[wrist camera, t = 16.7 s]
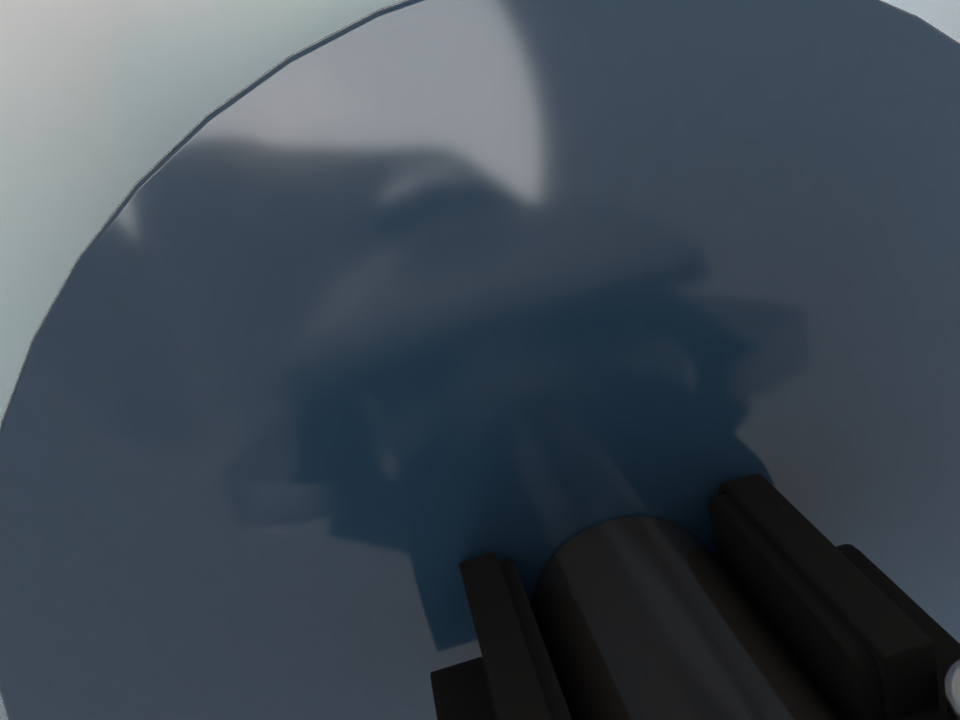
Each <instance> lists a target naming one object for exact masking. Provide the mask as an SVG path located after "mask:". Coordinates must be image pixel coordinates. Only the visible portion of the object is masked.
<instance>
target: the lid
mask: <svg viewBox="0 0 960 720" xmlns="http://www.w3.org/2000/svg"><path fill="white" fill-rule="evenodd" d="M755 473H759V474H761V475H762V476H763V477H764V478H765V479H766V480H767V481H768V482H769V483H770V484H771V485H772V486H774V487H775V488H776V489H777V490H778V491H779V492H780V493H781V494H782V495H783V496H784V497H785V498H786V499H787V500H788V501H789V502H790V503H791V504H792V505H793V506H794V507H795V508H796V509H797V510H798V511H799V512H800V513H801V514H802V515H803V516H805V517H806V518H807V519H808V520H809V521H810V522H811V523H812V524H813V525H814V526H815V527H816V528H817V529H818V530H819V531H820V532H821V533H822V534H823V535H824V536H825V537H826V538H827V539H828V540H829V541H830V542H831V543H832V544H833V545H834V546H835V547H836V546H839V545H843V544H850V545H853V546H854V547H856V548H857V549H858V550H860V551H861V552H862V553H863V554H864V555H865V556H866V557H867V558H868V559H869V560H870V561H871V562H873V563H874V564H875V565H876V566H877V567H878V568H879V569H880V570H881V571H882V572H883V573H884V574H885V575H886V576H888V577H889V578H890V579H891V580H892V581H893V582H894V583H895V584H896V585H897V586H898V587H899V588H900V589H902V590H903V591H904V592H905V593H906V594H907V595H908V596H909V597H910V598H911V599H912V600H913V601H914V602H915V603H917V604H918V605H919V606H920V607H921V608H922V609H923V610H924V611H925V612H926V613H927V614H928V615H929V616H931V617H932V618H933V619H934V620H935V621H936V622H937V623H938V624H939V625H940V626H941V627H942V628H943V629H944V630H946V631H947V632H948V633H949V634H950V635H951V636H952V637H953V638H954V639H955V640H956V641H957V642H958V643H960V43H958V42H957V41H955V40H954V39H952V38H950V37H949V36H947V35H946V34H944V33H943V32H941V31H939V30H938V29H936V28H935V27H933V26H932V25H930V24H929V23H927V22H925V21H924V20H922V19H921V18H919V17H918V16H916V15H913V14H911V13H909V12H907V11H904V10H902V9H900V8H897V7H895V6H893V5H890V4H888V3H886V2H883V1H881V0H404V1H401V2H398V3H396V4H393V5H390V6H387V7H384V8H382V9H379V10H376V11H374V12H372V13H370V14H369V15H367V16H365V17H363V18H361V19H359V20H357V21H355V22H353V23H351V24H349V25H348V26H346V27H344V28H342V29H340V30H338V31H336V32H334V33H332V34H330V35H329V36H327V37H325V38H323V39H321V40H319V41H317V42H315V43H313V44H311V45H309V46H308V47H306V48H304V49H302V50H300V51H298V52H296V53H294V54H292V55H290V56H288V57H287V58H285V59H284V60H283V61H281V62H280V63H278V64H277V65H276V66H274V67H273V68H272V69H270V70H269V71H267V72H266V73H265V74H263V75H262V76H260V77H259V78H258V79H256V80H255V81H253V82H252V83H251V84H249V85H248V86H247V87H245V88H244V89H242V90H241V91H240V92H238V93H237V94H235V95H234V96H233V97H231V98H230V99H228V100H227V101H226V102H224V103H223V104H222V105H220V106H219V107H217V108H216V109H215V110H213V111H212V112H210V113H209V114H208V115H206V116H205V117H204V118H203V119H202V120H201V121H200V122H199V123H198V124H197V125H196V126H195V127H194V128H193V129H192V130H191V131H190V132H189V133H188V134H186V135H185V136H184V137H183V138H182V139H181V140H180V141H179V142H178V143H177V144H176V145H175V146H174V147H173V148H172V149H171V150H170V151H169V152H168V153H167V154H166V155H165V156H164V157H163V158H162V159H160V160H159V161H158V162H157V163H156V164H155V165H154V166H153V167H152V168H151V169H150V170H149V171H148V172H147V173H146V174H145V175H144V176H143V177H142V178H141V179H140V180H139V181H138V182H137V183H136V184H135V185H134V186H133V187H132V189H131V190H130V191H129V193H128V194H127V195H126V196H125V198H124V199H123V200H122V202H121V203H120V204H119V205H118V207H117V208H116V209H115V211H114V212H113V213H112V214H111V216H110V217H109V218H108V220H107V221H106V222H105V223H104V225H103V226H102V227H101V229H100V230H99V231H98V232H97V234H96V235H95V236H94V238H93V239H92V240H91V241H90V243H89V244H88V245H87V247H86V248H85V249H84V251H83V252H82V253H81V254H80V256H79V257H78V258H77V260H76V262H75V263H74V265H73V267H72V269H71V270H70V272H69V274H68V276H67V278H66V279H65V281H64V283H63V285H62V286H61V288H60V290H59V292H58V294H57V295H56V297H55V299H54V301H53V302H52V304H51V306H50V308H49V310H48V311H47V313H46V315H45V317H44V318H43V320H42V322H41V324H40V326H39V327H38V329H37V331H36V333H35V334H34V336H33V338H32V340H31V343H30V346H29V348H28V351H27V354H26V356H25V359H24V362H23V364H22V367H21V370H20V372H19V375H18V378H17V380H16V383H15V386H14V388H13V391H12V393H11V396H10V399H9V401H8V404H7V407H6V409H5V412H4V415H3V417H2V420H1V424H0V695H1V698H2V702H3V705H4V709H5V712H6V716H7V719H8V720H437V715H436V709H435V703H434V697H433V691H432V684H431V677H430V674H431V672H433V671H437V670H440V669H443V668H446V667H449V666H453V665H456V664H459V663H462V662H466V661H469V660H472V659H475V658H478V657H482V654H481V650H480V646H479V642H478V638H477V634H476V630H475V626H474V622H473V618H472V614H471V610H470V607H469V603H468V599H467V595H466V591H465V587H464V583H463V579H462V575H461V571H460V567H459V563H461V562H464V561H467V560H471V559H474V558H477V557H481V556H484V555H487V554H491V553H494V552H495V553H496V556H497V559H498V562H500V561H503V560H507V559H510V558H513V559H514V562H515V565H516V567H517V570H518V573H519V576H520V578H521V581H522V584H523V586H524V589H525V592H526V595H527V597H528V600H529V603H530V606H531V608H532V611H533V614H534V616H535V619H536V622H537V625H538V627H539V630H540V633H541V636H542V638H543V641H544V644H545V646H546V649H547V652H548V655H549V657H550V660H551V663H552V666H553V668H554V671H555V674H556V676H557V679H558V682H559V685H560V687H561V690H562V693H563V696H564V698H565V701H566V704H567V706H568V709H569V712H570V715H571V717H572V720H841V718H840V717H839V716H838V714H837V713H836V712H835V711H834V709H833V708H832V707H831V705H830V704H829V703H828V701H827V700H826V699H825V698H824V696H823V695H822V694H821V692H820V691H819V690H818V689H817V687H816V686H815V685H814V683H813V682H812V681H811V679H810V678H809V677H808V676H807V674H806V673H805V672H804V670H803V669H802V668H801V667H800V665H799V664H798V663H797V661H796V660H795V659H794V658H793V656H792V655H791V654H790V652H789V651H788V650H787V648H786V647H785V646H784V645H783V643H782V642H781V641H780V639H779V638H778V637H777V636H776V634H775V633H774V632H773V630H772V629H771V628H770V627H769V625H768V624H767V623H766V621H765V620H764V619H763V617H762V616H761V615H760V614H759V612H758V611H757V610H756V608H755V607H754V606H753V605H752V603H751V602H750V601H749V599H748V598H747V597H746V596H745V594H744V593H743V592H742V590H741V589H740V588H739V586H738V585H737V584H736V583H735V581H734V580H733V579H732V577H731V576H730V575H729V574H728V572H727V571H726V570H725V568H724V567H723V566H722V564H721V563H720V562H719V561H718V556H717V551H716V545H715V539H714V533H713V528H712V522H711V516H710V510H709V499H710V498H711V497H714V496H718V495H719V493H718V490H719V486H720V484H722V483H725V482H728V481H732V480H735V479H738V478H742V477H745V476H748V475H752V474H755Z"/></svg>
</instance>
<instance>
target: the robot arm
mask: <svg viewBox="0 0 960 720" xmlns="http://www.w3.org/2000/svg"><path fill="white" fill-rule="evenodd" d="M718 493H719V495H718V496H714V497H711V498H710V499H709V510H710V516H711V522H712V528H713V533H714V539H715V545H716V551H717V556H718V561H719V562H720V563H721V564H722V566H723V567H724V568H725V570H726V571H727V572H728V574H729V575H730V576H731V577H732V579H733V580H734V581H735V583H736V584H737V585H738V586H739V588H740V589H741V590H742V592H743V593H744V594H745V596H746V597H747V598H748V599H749V601H750V602H751V603H752V605H753V606H754V607H755V608H756V610H757V611H758V612H759V614H760V615H761V616H762V617H763V619H764V620H765V621H766V623H767V624H768V625H769V627H770V628H771V629H772V630H773V632H774V633H775V634H776V636H777V637H778V638H779V639H780V641H781V642H782V643H783V645H784V646H785V647H786V648H787V650H788V651H789V652H790V654H791V655H792V656H793V658H794V659H795V660H796V661H797V663H798V664H799V665H800V667H801V668H802V669H803V670H804V672H805V673H806V674H807V676H808V677H809V678H810V679H811V681H812V682H813V683H814V685H815V686H816V687H817V689H818V690H819V691H820V692H821V694H822V695H823V696H824V698H825V699H826V700H827V701H828V703H829V704H830V705H831V707H832V708H833V709H834V711H835V712H836V713H837V714H838V716H839V717H840V718H841V720H960V643H958V642H957V641H956V640H955V639H954V638H953V637H952V636H951V635H950V634H949V633H948V632H947V631H946V630H944V629H943V628H942V627H941V626H940V625H939V624H938V623H937V622H936V621H935V620H934V619H933V618H932V617H931V616H929V615H928V614H927V613H926V612H925V611H924V610H923V609H922V608H921V607H920V606H919V605H918V604H917V603H915V602H914V601H913V600H912V599H911V598H910V597H909V596H908V595H907V594H906V593H905V592H904V591H903V590H902V589H900V588H899V587H898V586H897V585H896V584H895V583H894V582H893V581H892V580H891V579H890V578H889V577H888V576H886V575H885V574H884V573H883V572H882V571H881V570H880V569H879V568H878V567H877V566H876V565H875V564H874V563H873V562H871V561H870V560H869V559H868V558H867V557H866V556H865V555H864V554H863V553H862V552H861V551H860V550H858V549H857V548H856V547H854V546H853V545H850V544H843V545H839V546H836V547H835V546H834V545H833V544H832V543H831V542H830V541H829V540H828V539H827V538H826V537H825V536H824V535H823V534H822V533H821V532H820V531H819V530H818V529H817V528H816V527H815V526H814V525H813V524H812V523H811V522H810V521H809V520H808V519H807V518H806V517H805V516H803V515H802V514H801V513H800V512H799V511H798V510H797V509H796V508H795V507H794V506H793V505H792V504H791V503H790V502H789V501H788V500H787V499H786V498H785V497H784V496H783V495H782V494H781V493H780V492H779V491H778V490H777V489H776V488H775V487H774V486H772V485H771V484H770V483H769V482H768V481H767V480H766V479H765V478H764V477H763V476H762V475H761V474H759V473H755V474H752V475H748V476H745V477H742V478H738V479H735V480H732V481H728V482H725V483H722V484H720V486H719V490H718ZM459 567H460V571H461V575H462V579H463V583H464V587H465V591H466V595H467V599H468V603H469V607H470V610H471V614H472V618H473V622H474V626H475V630H476V634H477V638H478V642H479V646H480V650H481V654H482V657H478V658H475V659H472V660H469V661H466V662H462V663H459V664H456V665H453V666H449V667H446V668H443V669H440V670H437V671H433V672H431V674H430V677H431V684H432V691H433V697H434V703H435V709H436V715H437V720H572V717H571V715H570V712H569V709H568V706H567V704H566V701H565V698H564V696H563V693H562V690H561V687H560V685H559V682H558V679H557V676H556V674H555V671H554V668H553V666H552V663H551V660H550V657H549V655H548V652H547V649H546V646H545V644H544V641H543V638H542V636H541V633H540V630H539V627H538V625H537V622H536V619H535V616H534V614H533V611H532V608H531V606H530V603H529V600H528V597H527V595H526V592H525V589H524V586H523V584H522V581H521V578H520V576H519V573H518V570H517V567H516V565H515V562H514V559H513V558H510V559H507V560H503V561H500V562H498V559H497V556H496V553H495V552H494V553H491V554H487V555H484V556H481V557H477V558H474V559H471V560H467V561H464V562H461V563H459Z"/></svg>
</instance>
